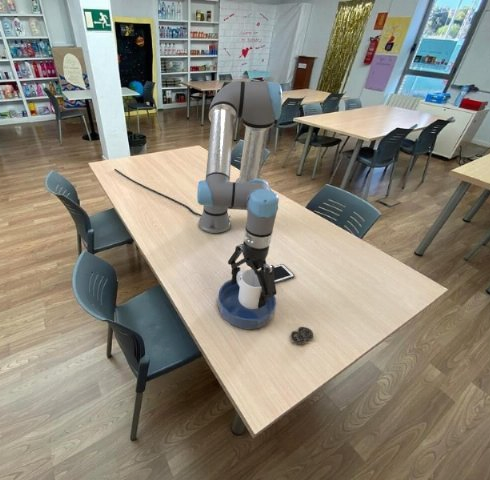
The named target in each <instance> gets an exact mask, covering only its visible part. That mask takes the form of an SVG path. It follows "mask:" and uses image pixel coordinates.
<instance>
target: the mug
mask: <svg viewBox="0 0 490 480" xmlns="http://www.w3.org/2000/svg"><path fill="white" fill-rule="evenodd" d="M259 270H260V269H258V271H259ZM240 278H241V280H240ZM236 280H237V283H238V285H239V287H240V290H239V302H240V303H241V305H243V306H244V307H246V308H248V309H257V308H258V303H259V299H260V294H261V292H262V287H261V286H260V283H259V280H258V277H257V275H256V274H255V273H254V270H253V269H252V268H250V269H247V270H245V271H244V270H240V271H239V272H238V273H237V275H236Z"/></svg>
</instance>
